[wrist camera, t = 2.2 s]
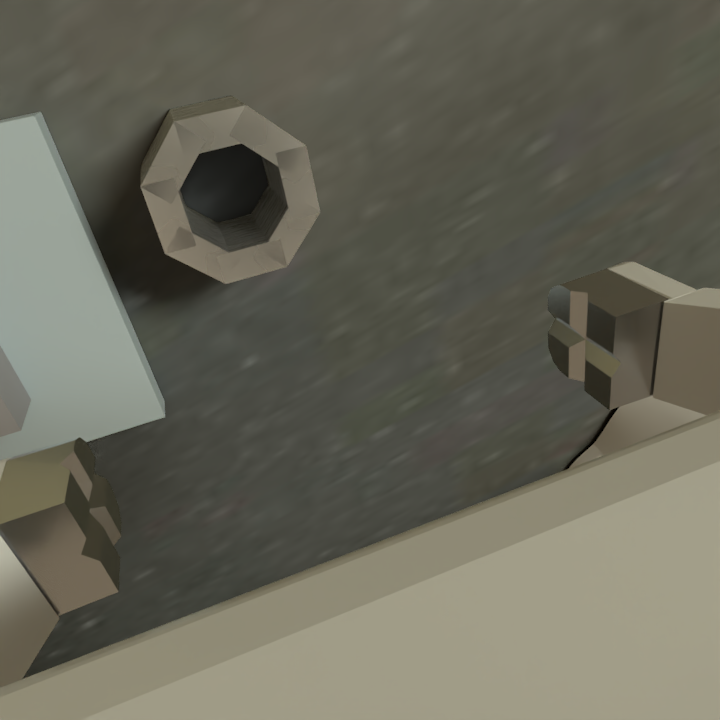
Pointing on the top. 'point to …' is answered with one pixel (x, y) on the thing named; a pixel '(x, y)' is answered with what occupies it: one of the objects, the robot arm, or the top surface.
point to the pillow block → (59, 310)
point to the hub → (243, 234)
